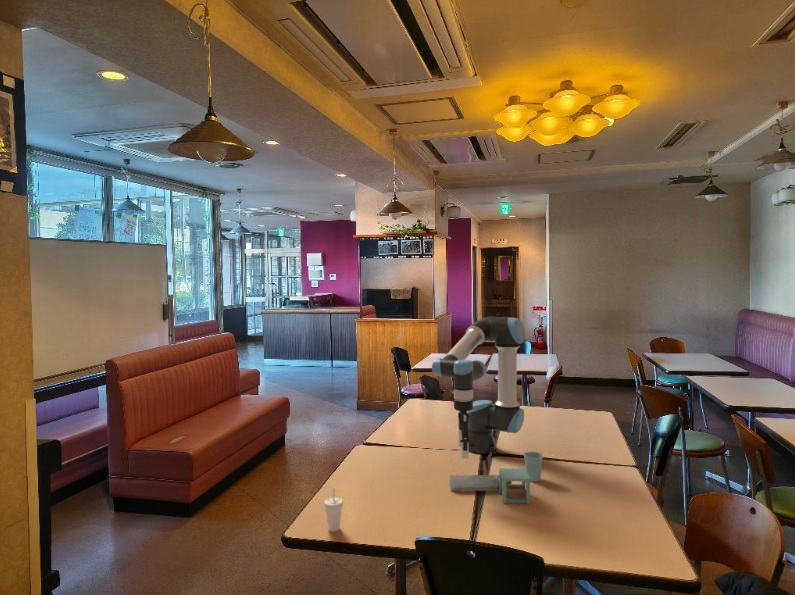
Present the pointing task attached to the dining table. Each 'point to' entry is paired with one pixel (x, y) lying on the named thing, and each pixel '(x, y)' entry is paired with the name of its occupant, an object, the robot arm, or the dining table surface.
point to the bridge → (513, 475)
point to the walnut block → (515, 491)
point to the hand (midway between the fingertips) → (463, 452)
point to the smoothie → (333, 512)
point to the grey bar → (475, 482)
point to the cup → (533, 465)
